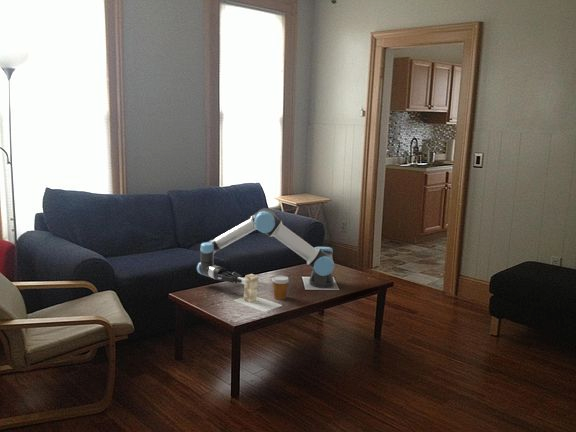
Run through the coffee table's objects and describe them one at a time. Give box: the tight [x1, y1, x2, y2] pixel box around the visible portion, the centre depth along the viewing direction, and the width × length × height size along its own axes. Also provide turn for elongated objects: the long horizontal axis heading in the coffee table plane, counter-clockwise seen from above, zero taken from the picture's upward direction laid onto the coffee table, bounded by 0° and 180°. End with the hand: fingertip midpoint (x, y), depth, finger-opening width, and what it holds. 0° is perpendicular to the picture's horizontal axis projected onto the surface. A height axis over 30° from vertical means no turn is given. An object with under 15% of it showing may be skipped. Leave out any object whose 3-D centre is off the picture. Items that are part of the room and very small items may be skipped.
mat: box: [233, 296, 283, 313], centre depth 287 cm, size 24×14×1 cm, turn 49°
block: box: [243, 273, 259, 302], centre depth 289 cm, size 5×5×14 cm
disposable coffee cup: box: [271, 275, 290, 301], centre depth 295 cm, size 10×10×12 cm
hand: (246, 282), depth 289 cm, fingers closed
